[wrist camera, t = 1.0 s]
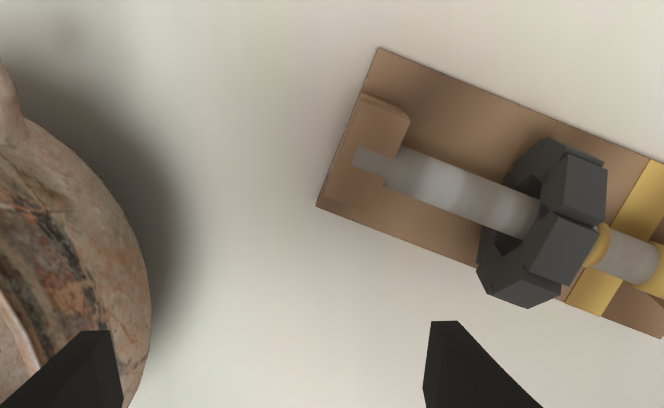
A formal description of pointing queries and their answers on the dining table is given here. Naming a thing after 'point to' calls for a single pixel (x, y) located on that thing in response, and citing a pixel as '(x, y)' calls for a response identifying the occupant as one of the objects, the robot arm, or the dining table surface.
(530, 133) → the pipe stand
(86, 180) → the cooking pot
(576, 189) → the dark grey hex nut
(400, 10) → the dining table surface
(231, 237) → the dining table surface
